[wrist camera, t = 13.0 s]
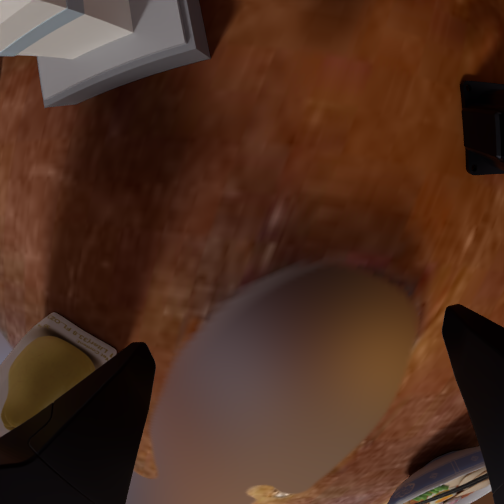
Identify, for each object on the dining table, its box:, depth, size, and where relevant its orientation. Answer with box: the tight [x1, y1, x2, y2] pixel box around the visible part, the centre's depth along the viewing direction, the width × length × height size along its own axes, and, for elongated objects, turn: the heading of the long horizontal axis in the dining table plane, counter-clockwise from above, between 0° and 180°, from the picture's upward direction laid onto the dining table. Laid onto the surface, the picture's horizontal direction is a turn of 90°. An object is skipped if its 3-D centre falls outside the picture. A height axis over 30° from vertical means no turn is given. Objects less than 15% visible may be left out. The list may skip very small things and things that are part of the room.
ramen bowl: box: [388, 446, 492, 504], centre depth 31 cm, size 25×23×8 cm
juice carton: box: [0, 312, 117, 437], centre depth 17 cm, size 9×8×24 cm
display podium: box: [37, 0, 211, 108], centre depth 14 cm, size 10×10×4 cm
